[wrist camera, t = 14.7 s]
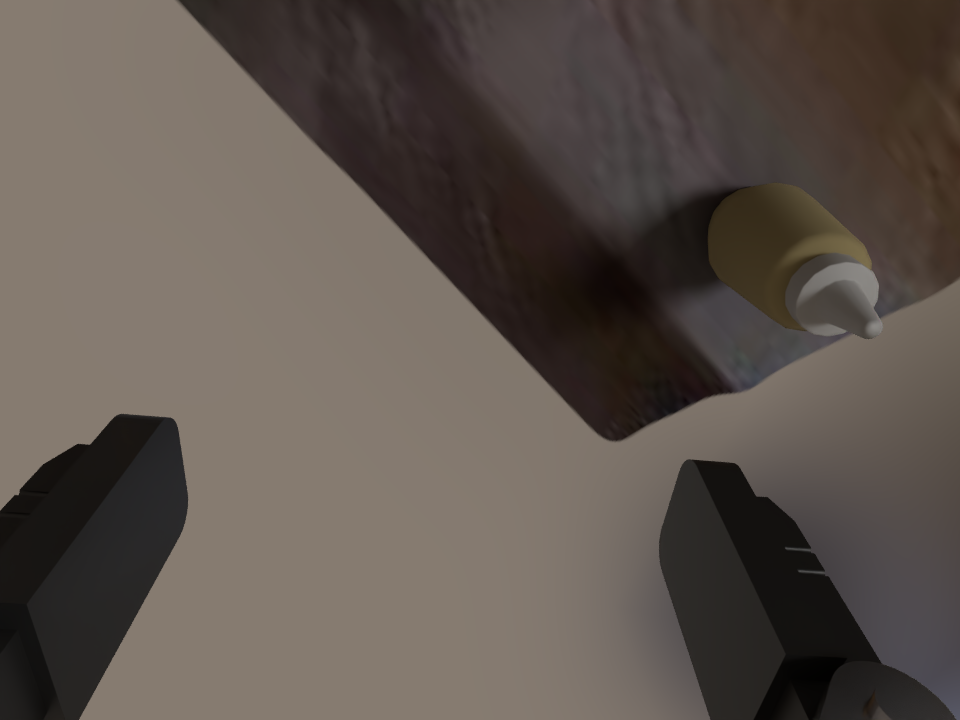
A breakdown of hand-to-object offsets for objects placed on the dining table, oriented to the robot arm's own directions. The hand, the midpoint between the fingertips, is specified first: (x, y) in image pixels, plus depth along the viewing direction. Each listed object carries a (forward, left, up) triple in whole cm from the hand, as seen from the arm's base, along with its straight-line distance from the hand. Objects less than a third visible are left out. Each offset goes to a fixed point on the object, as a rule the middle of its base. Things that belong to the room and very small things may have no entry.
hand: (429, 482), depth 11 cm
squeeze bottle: (+6, +22, -40) cm, 46 cm away
